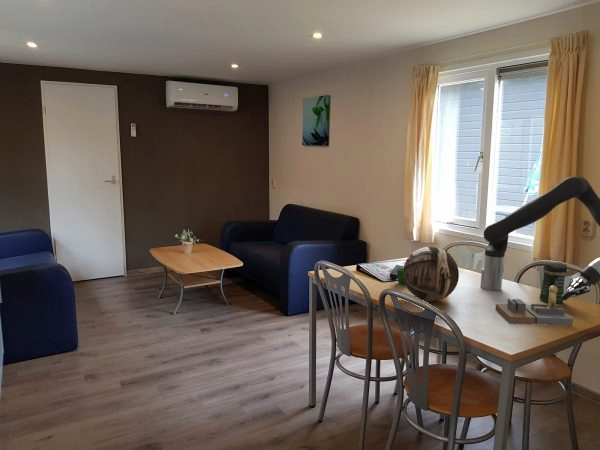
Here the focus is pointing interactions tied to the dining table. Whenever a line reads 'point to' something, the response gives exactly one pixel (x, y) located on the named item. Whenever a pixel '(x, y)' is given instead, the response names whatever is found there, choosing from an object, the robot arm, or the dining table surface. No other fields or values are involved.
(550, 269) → the coffee jar
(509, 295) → the dining table surface
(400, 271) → the bell pepper
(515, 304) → the door edge model
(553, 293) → the bolt
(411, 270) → the sphere
